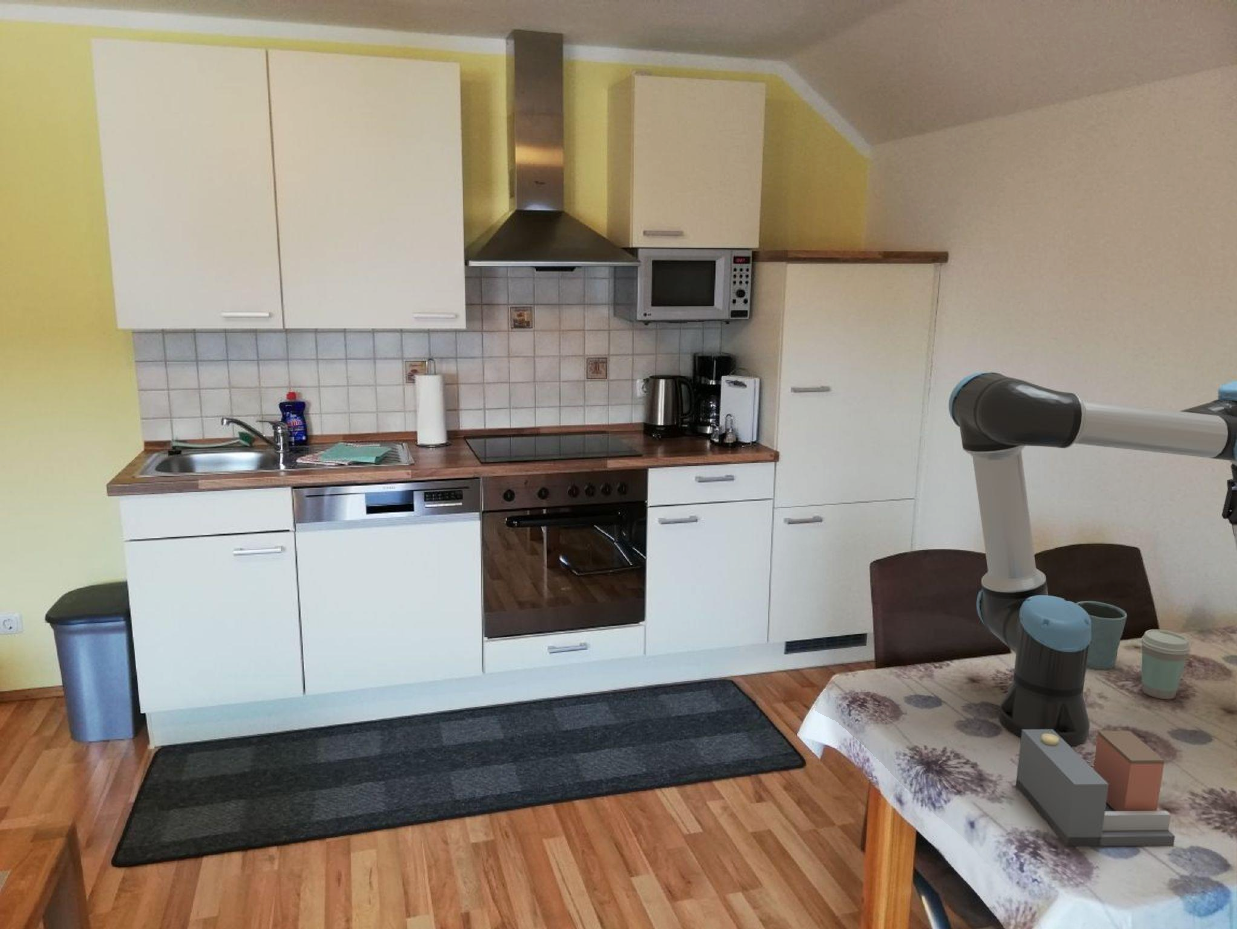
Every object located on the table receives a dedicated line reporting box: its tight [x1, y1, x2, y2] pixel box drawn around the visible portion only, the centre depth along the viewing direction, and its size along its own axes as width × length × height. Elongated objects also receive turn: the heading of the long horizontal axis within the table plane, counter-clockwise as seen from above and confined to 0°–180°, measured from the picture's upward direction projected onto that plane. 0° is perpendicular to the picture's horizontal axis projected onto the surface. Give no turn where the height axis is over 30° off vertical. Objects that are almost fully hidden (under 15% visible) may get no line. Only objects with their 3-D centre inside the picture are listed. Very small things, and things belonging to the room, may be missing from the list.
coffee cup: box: [1140, 629, 1192, 700], centre depth 181 cm, size 8×8×12 cm
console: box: [1015, 729, 1176, 847], centre depth 139 cm, size 16×16×11 cm
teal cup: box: [1075, 600, 1128, 671], centre depth 195 cm, size 10×10×12 cm
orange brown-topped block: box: [1092, 730, 1165, 811], centre depth 139 cm, size 5×9×10 cm, turn 2°
